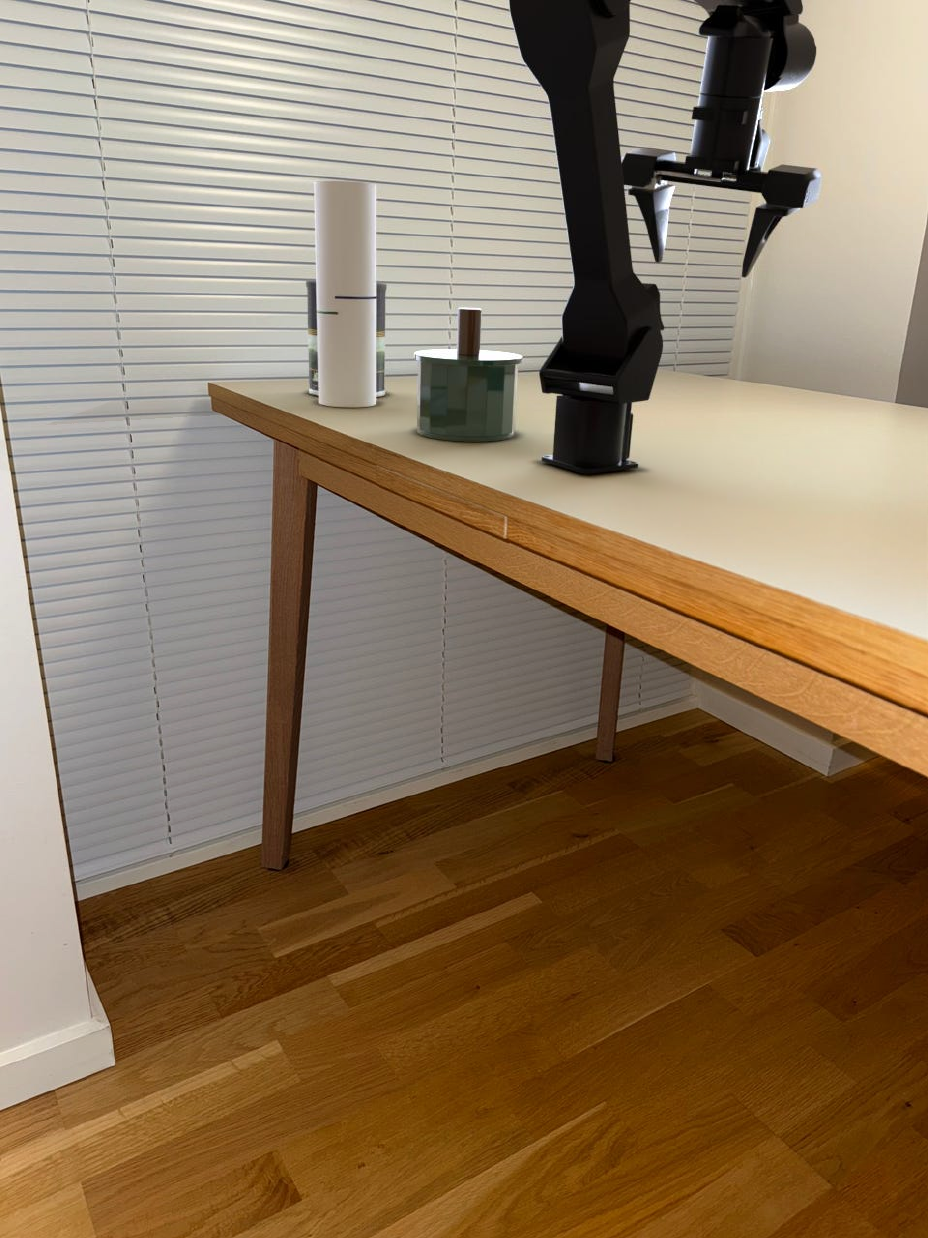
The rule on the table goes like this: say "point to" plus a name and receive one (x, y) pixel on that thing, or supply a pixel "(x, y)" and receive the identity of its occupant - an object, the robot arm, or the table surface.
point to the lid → (468, 346)
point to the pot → (466, 402)
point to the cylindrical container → (346, 292)
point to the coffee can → (314, 343)
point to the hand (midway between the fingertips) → (700, 269)
